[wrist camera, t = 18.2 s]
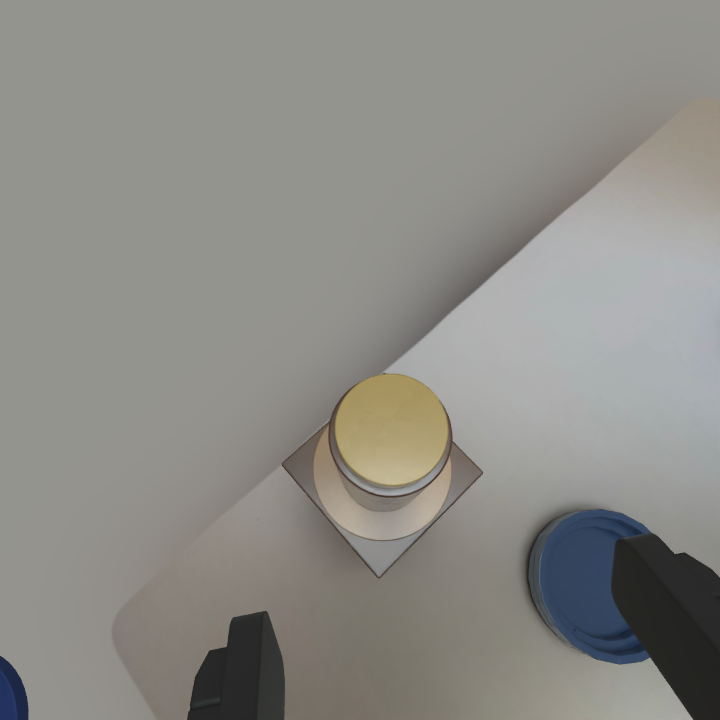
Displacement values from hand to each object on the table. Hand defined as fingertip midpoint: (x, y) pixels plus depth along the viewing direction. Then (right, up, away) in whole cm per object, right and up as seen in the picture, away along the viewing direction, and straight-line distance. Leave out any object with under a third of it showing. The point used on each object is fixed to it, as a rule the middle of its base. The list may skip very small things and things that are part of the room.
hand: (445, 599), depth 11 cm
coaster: (-1, -1, +16) cm, 16 cm away
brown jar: (-1, 0, +16) cm, 16 cm away
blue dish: (+18, -14, +31) cm, 39 cm away
